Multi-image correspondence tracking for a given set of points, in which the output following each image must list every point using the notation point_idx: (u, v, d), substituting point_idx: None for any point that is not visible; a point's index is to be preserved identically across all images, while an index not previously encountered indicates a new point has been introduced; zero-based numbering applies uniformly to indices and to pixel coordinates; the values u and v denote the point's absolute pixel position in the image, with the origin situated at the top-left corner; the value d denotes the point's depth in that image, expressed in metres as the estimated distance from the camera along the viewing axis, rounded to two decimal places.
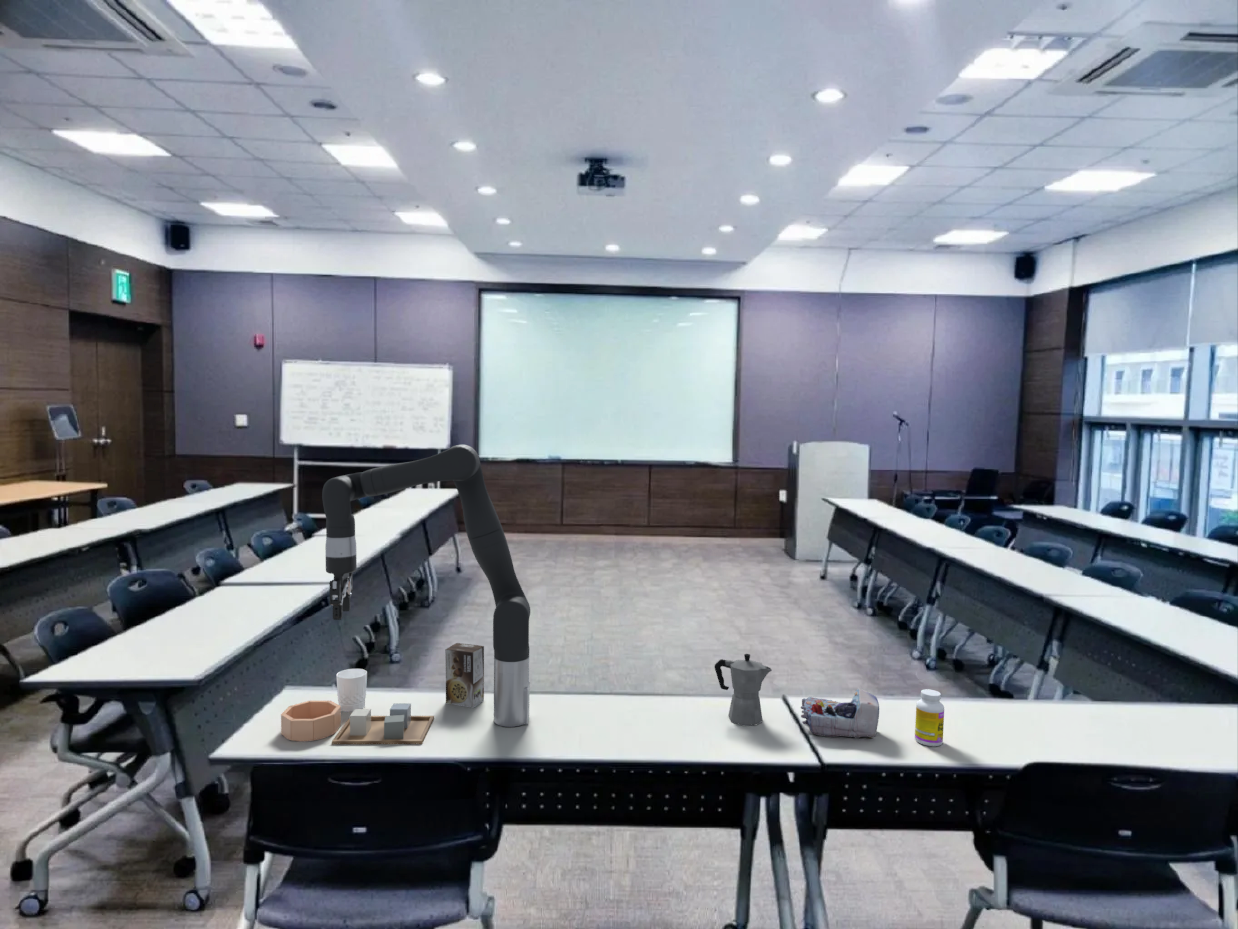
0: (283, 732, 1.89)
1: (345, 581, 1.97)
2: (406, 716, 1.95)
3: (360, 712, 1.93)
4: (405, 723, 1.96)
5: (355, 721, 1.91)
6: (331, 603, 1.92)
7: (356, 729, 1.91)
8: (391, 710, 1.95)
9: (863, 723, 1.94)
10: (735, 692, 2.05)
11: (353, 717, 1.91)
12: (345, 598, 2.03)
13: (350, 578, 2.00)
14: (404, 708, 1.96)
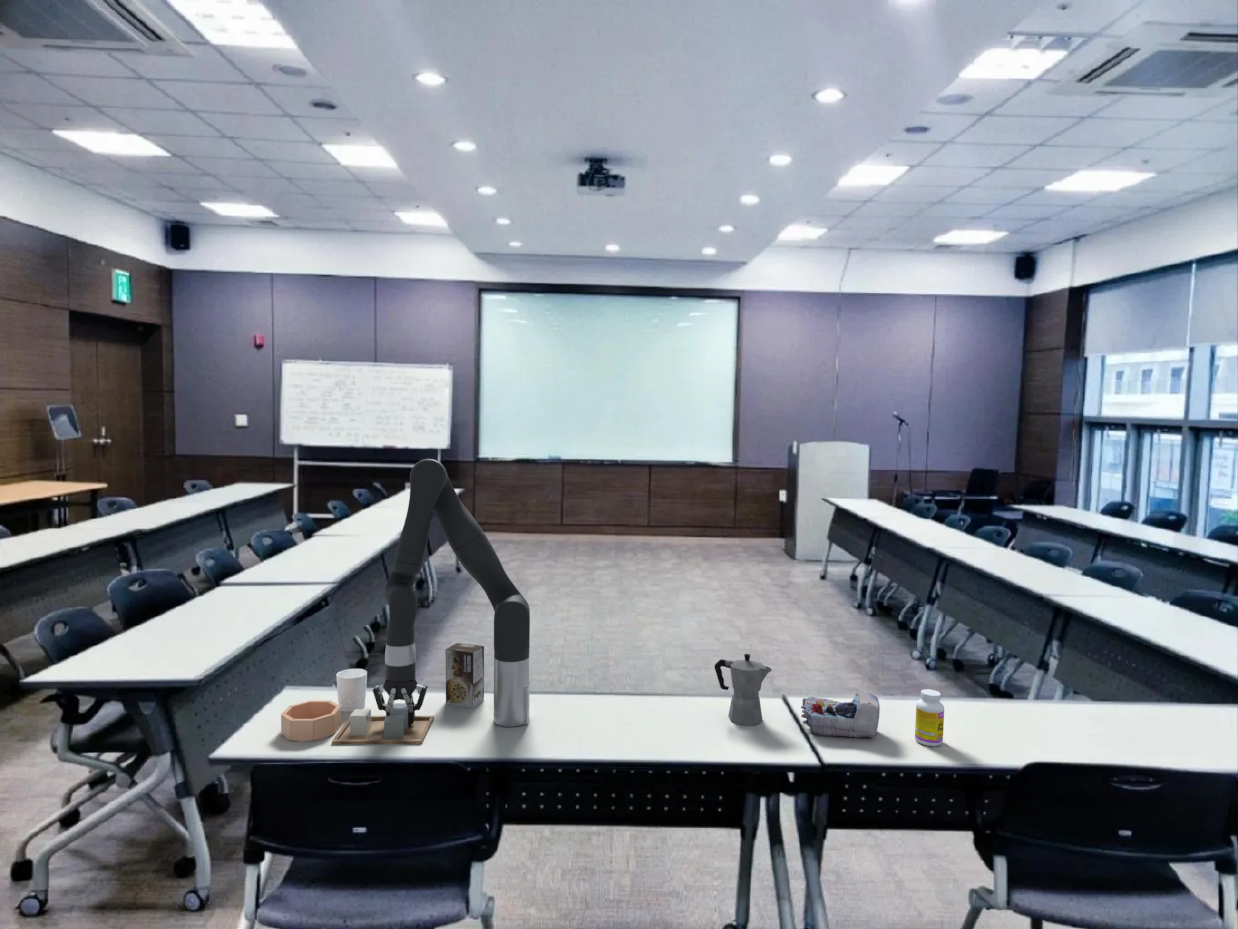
0: (283, 732, 1.89)
1: None
2: (406, 716, 1.95)
3: (360, 712, 1.93)
4: (405, 723, 1.96)
5: (355, 721, 1.91)
6: (419, 708, 1.97)
7: (356, 729, 1.91)
8: (391, 710, 1.95)
9: (863, 723, 1.94)
10: (735, 692, 2.05)
11: (353, 717, 1.91)
12: None
13: None
14: (404, 708, 1.96)
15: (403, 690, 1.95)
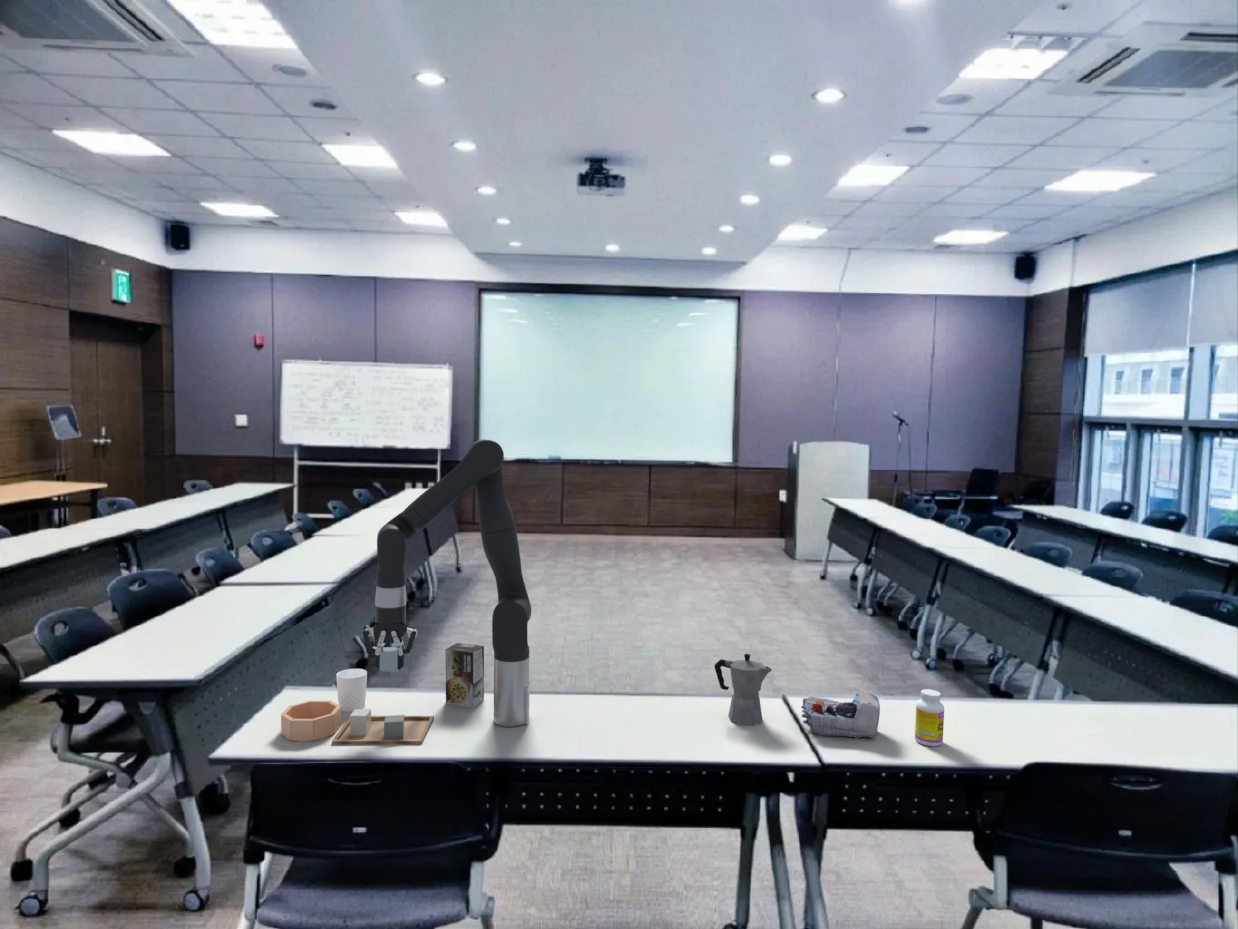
0: (283, 732, 1.89)
1: None
2: (396, 659, 1.94)
3: (360, 712, 1.93)
4: (395, 666, 1.94)
5: (355, 721, 1.91)
6: (409, 652, 1.95)
7: (356, 729, 1.91)
8: (381, 653, 1.94)
9: (863, 723, 1.94)
10: (735, 692, 2.05)
11: (353, 717, 1.91)
12: None
13: None
14: (394, 651, 1.95)
15: (393, 633, 1.94)
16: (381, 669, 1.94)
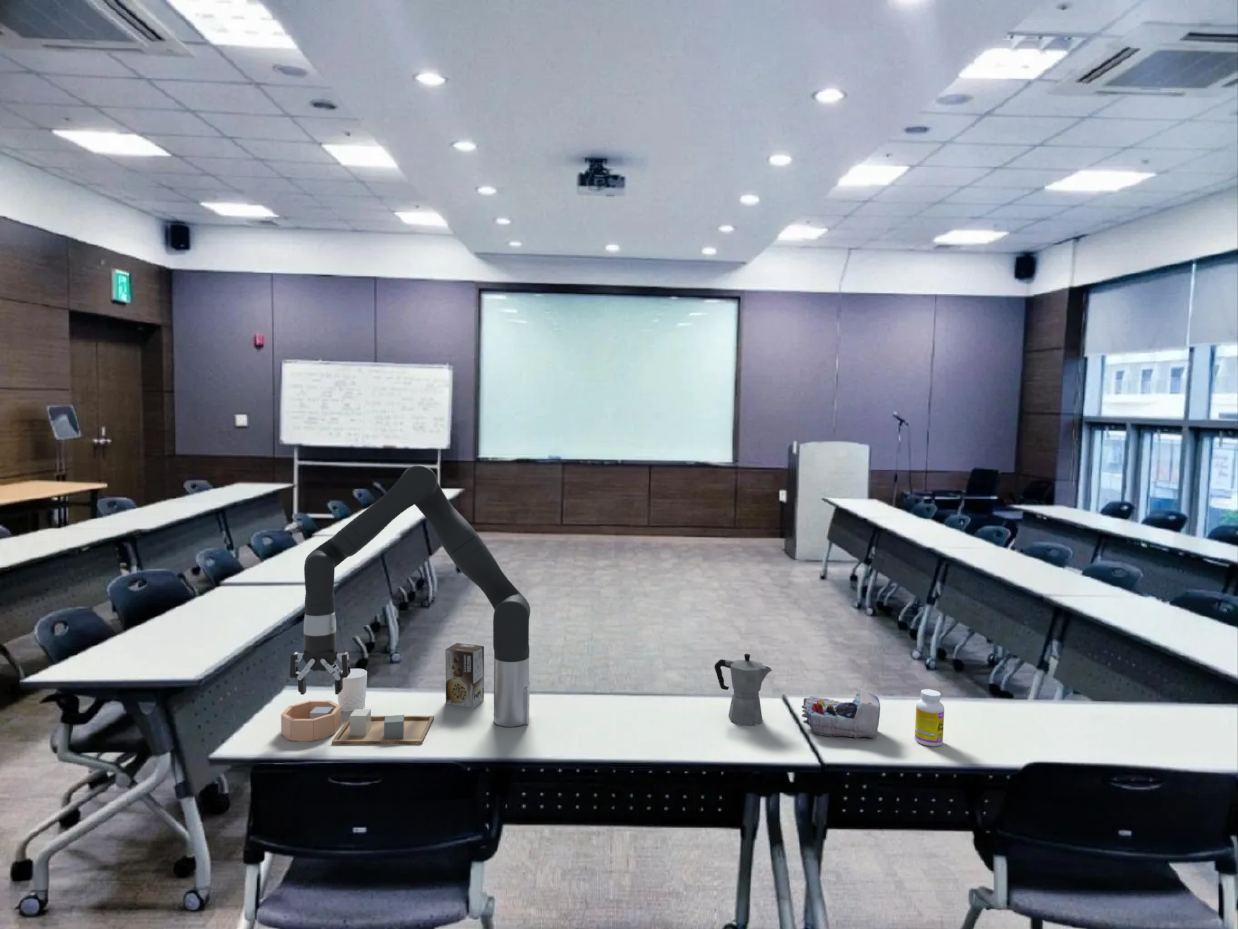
0: (283, 732, 1.89)
1: None
2: None
3: (360, 712, 1.93)
4: None
5: (355, 721, 1.91)
6: (347, 675, 1.92)
7: (356, 729, 1.91)
8: (311, 714, 1.91)
9: (863, 723, 1.94)
10: (735, 692, 2.05)
11: (353, 717, 1.91)
12: (304, 680, 1.93)
13: None
14: (324, 712, 1.92)
15: (322, 661, 1.90)
16: None
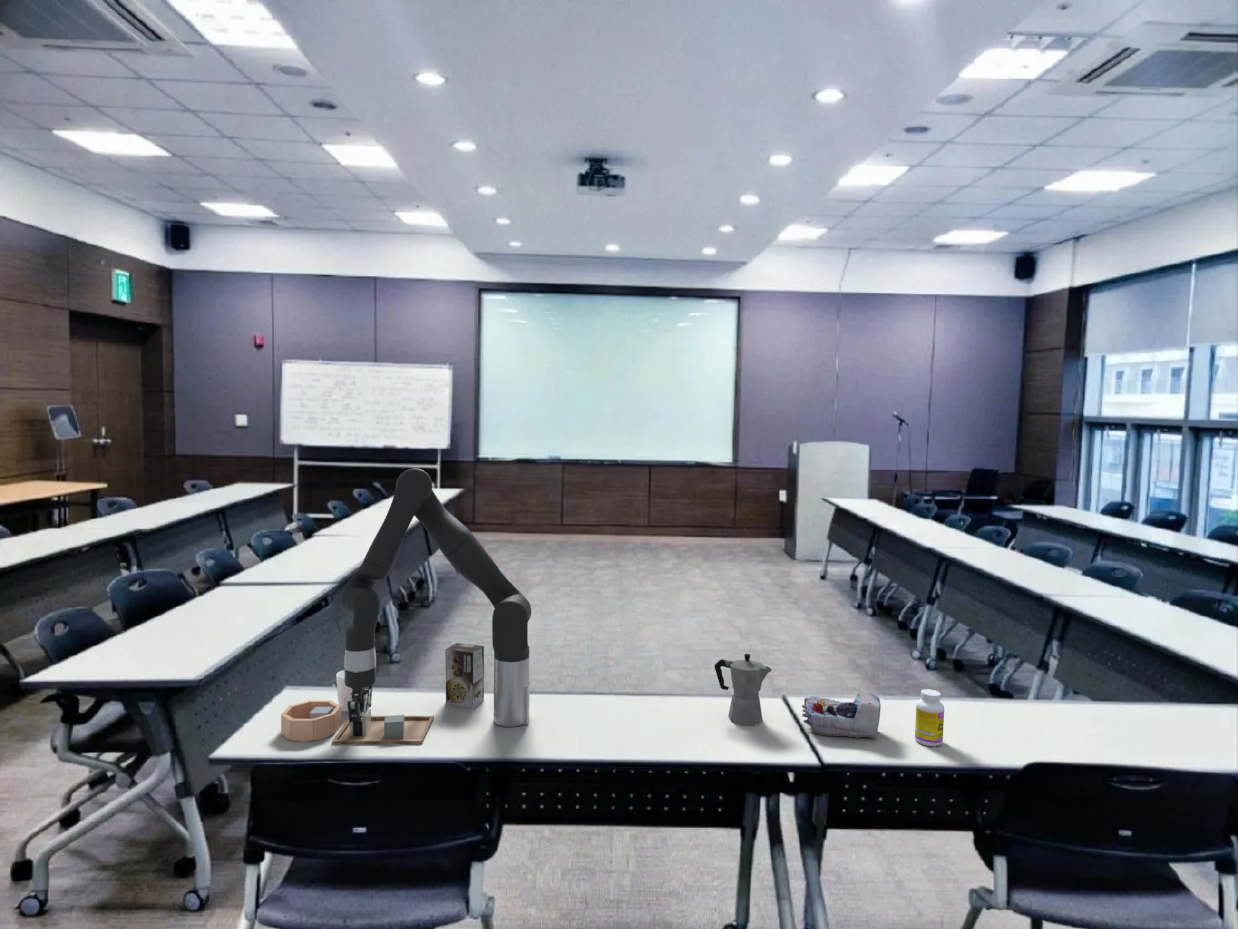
0: (283, 732, 1.89)
1: None
2: None
3: None
4: None
5: None
6: None
7: None
8: (311, 714, 1.91)
9: (863, 723, 1.94)
10: (735, 692, 2.05)
11: None
12: None
13: (350, 694, 1.91)
14: (324, 712, 1.92)
15: (369, 691, 1.94)
16: None
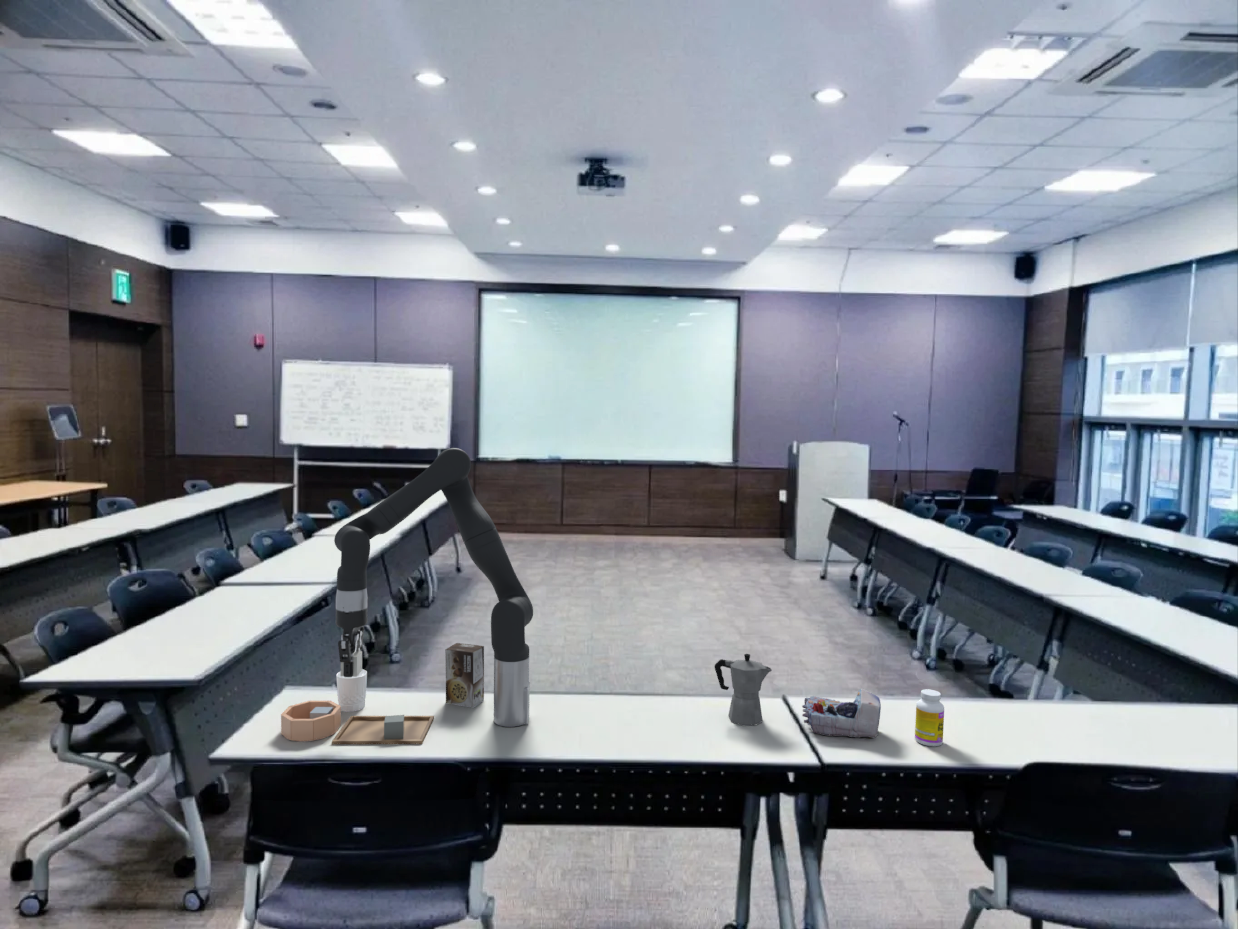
0: (283, 732, 1.89)
1: None
2: None
3: None
4: None
5: None
6: None
7: None
8: (311, 714, 1.91)
9: (863, 723, 1.94)
10: (735, 692, 2.05)
11: None
12: None
13: (341, 635, 1.90)
14: (324, 712, 1.92)
15: (360, 633, 1.93)
16: None
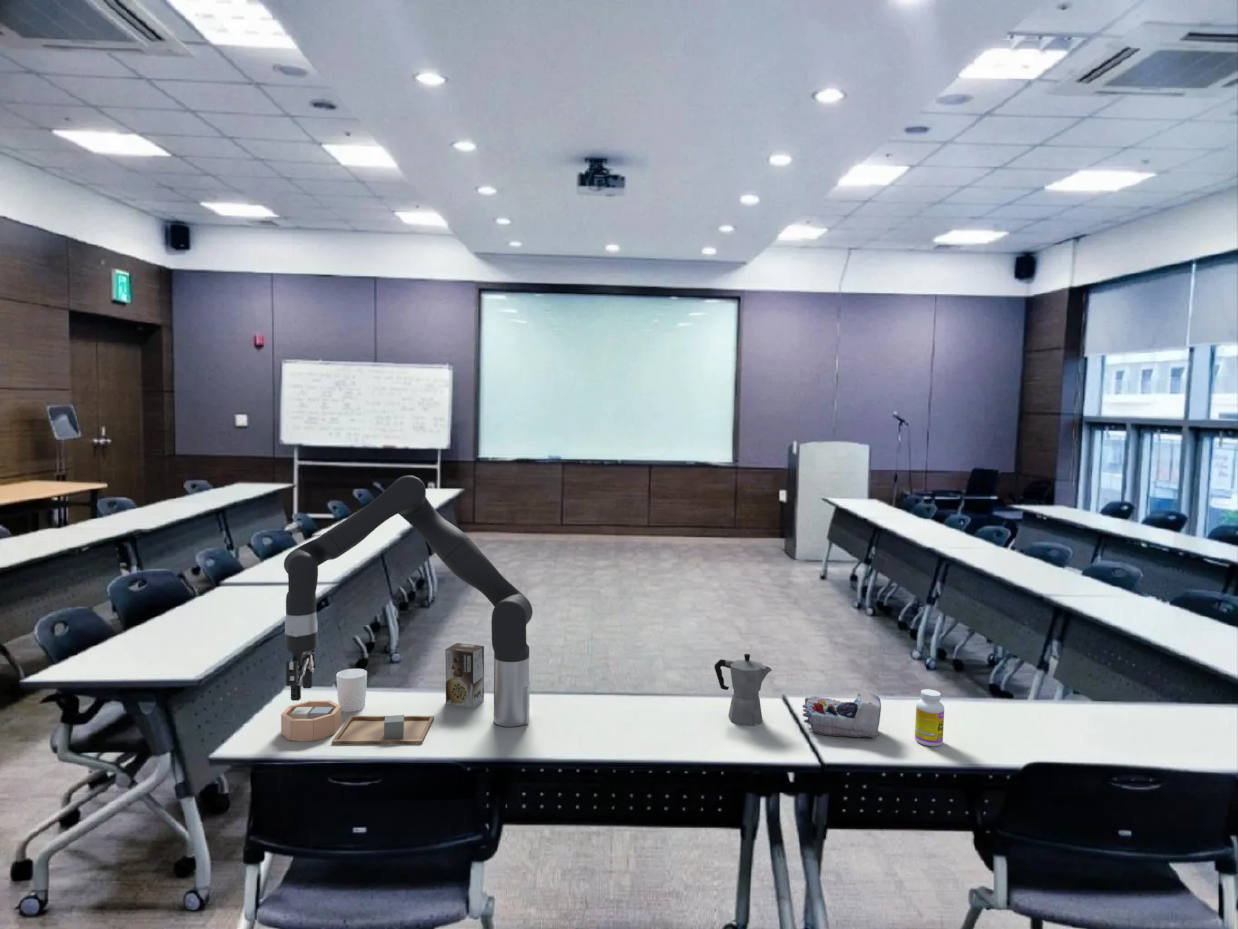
0: (283, 732, 1.89)
1: None
2: None
3: (301, 710, 1.93)
4: None
5: None
6: None
7: None
8: (311, 714, 1.91)
9: (863, 722, 1.94)
10: (735, 692, 2.05)
11: (294, 715, 1.91)
12: None
13: (291, 659, 1.91)
14: (324, 712, 1.92)
15: (311, 657, 1.93)
16: None
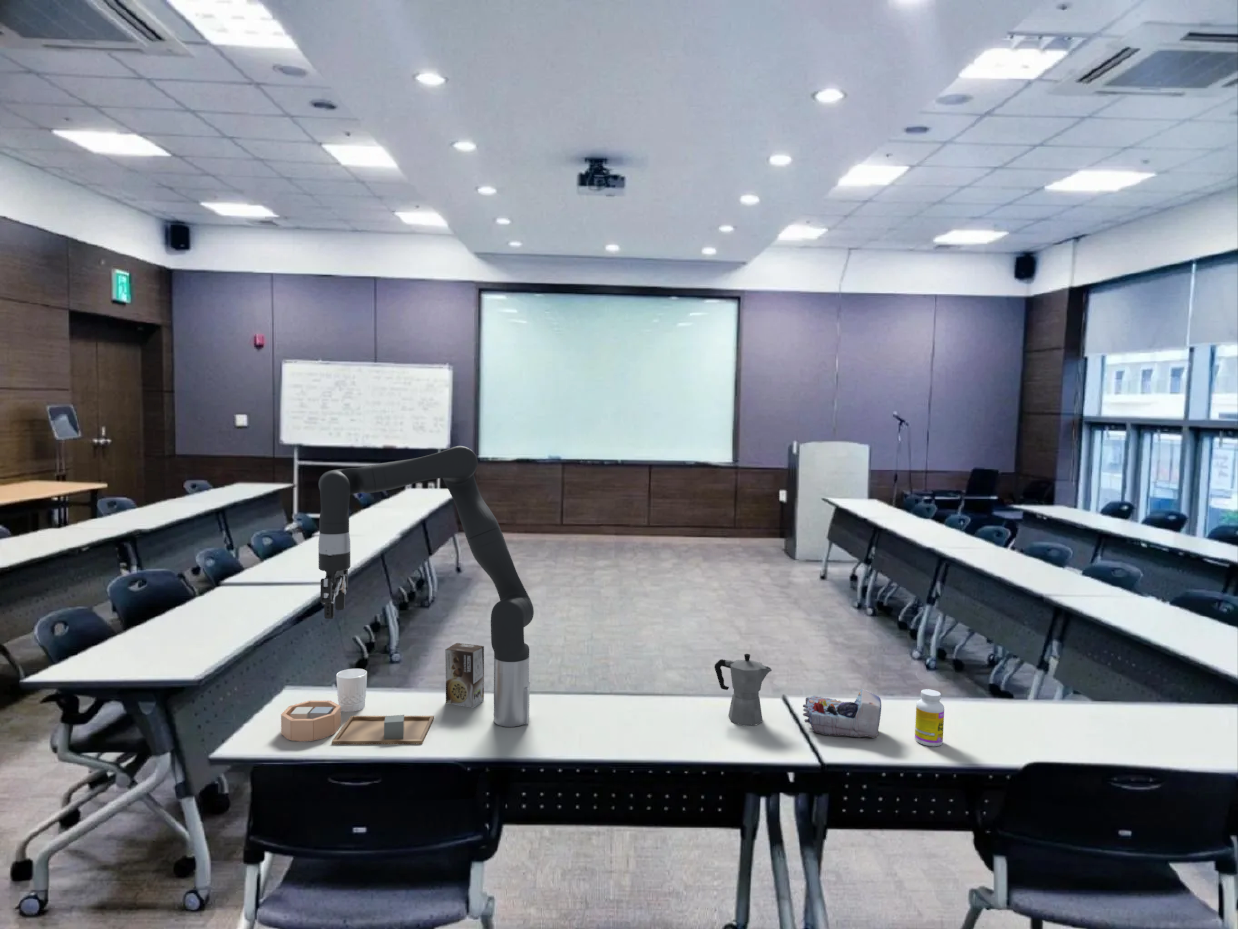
0: (283, 732, 1.89)
1: None
2: None
3: (302, 710, 1.93)
4: None
5: None
6: None
7: None
8: (311, 714, 1.91)
9: (864, 722, 1.94)
10: (735, 692, 2.05)
11: (294, 715, 1.91)
12: None
13: None
14: (324, 712, 1.92)
15: (344, 577, 1.94)
16: None
